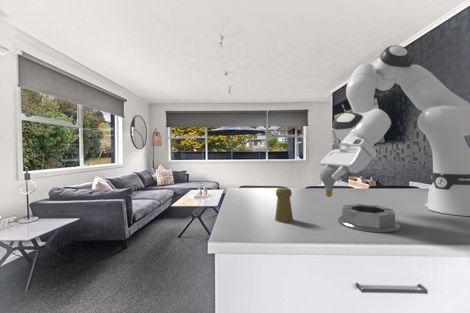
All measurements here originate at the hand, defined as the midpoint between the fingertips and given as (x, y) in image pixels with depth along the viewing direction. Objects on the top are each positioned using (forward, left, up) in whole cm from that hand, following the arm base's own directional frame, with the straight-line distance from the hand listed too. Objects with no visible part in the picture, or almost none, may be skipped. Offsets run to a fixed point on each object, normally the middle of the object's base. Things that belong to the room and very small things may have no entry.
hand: (327, 177), depth 78 cm
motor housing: (-9, +7, -14) cm, 19 cm away
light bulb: (-1, 0, -7) cm, 7 cm away
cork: (+14, -5, -14) cm, 21 cm away
